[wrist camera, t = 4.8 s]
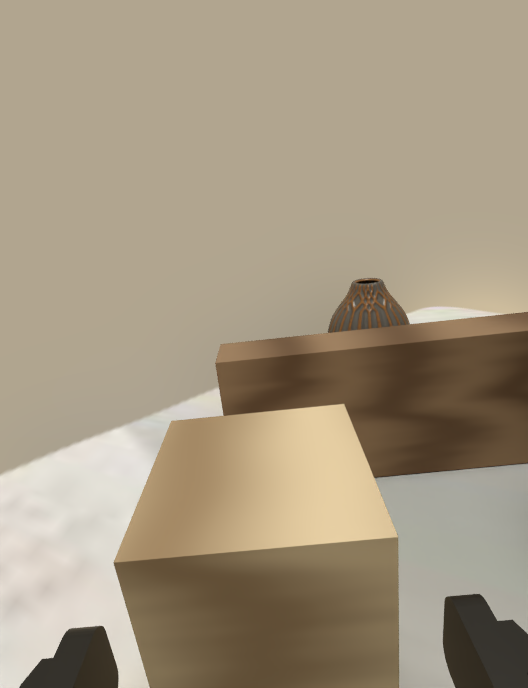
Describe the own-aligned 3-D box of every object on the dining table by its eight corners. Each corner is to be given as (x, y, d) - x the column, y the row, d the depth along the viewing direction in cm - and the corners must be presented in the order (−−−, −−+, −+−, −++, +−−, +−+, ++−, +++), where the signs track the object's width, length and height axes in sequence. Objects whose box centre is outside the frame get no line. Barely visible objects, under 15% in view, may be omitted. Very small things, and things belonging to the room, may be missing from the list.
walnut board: (550, 429, 27) (566, 307, 24) (585, 457, 24) (607, 322, 21) (238, 460, 27) (220, 344, 25) (235, 490, 24) (215, 363, 22)
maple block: (356, 649, 15) (344, 403, 12) (399, 853, 10) (398, 537, 7) (220, 661, 15) (171, 421, 12) (202, 866, 11) (113, 562, 7)
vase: (314, 388, 36) (307, 288, 33) (353, 360, 41) (349, 271, 38) (391, 406, 32) (390, 292, 29) (424, 373, 37) (426, 273, 34)
